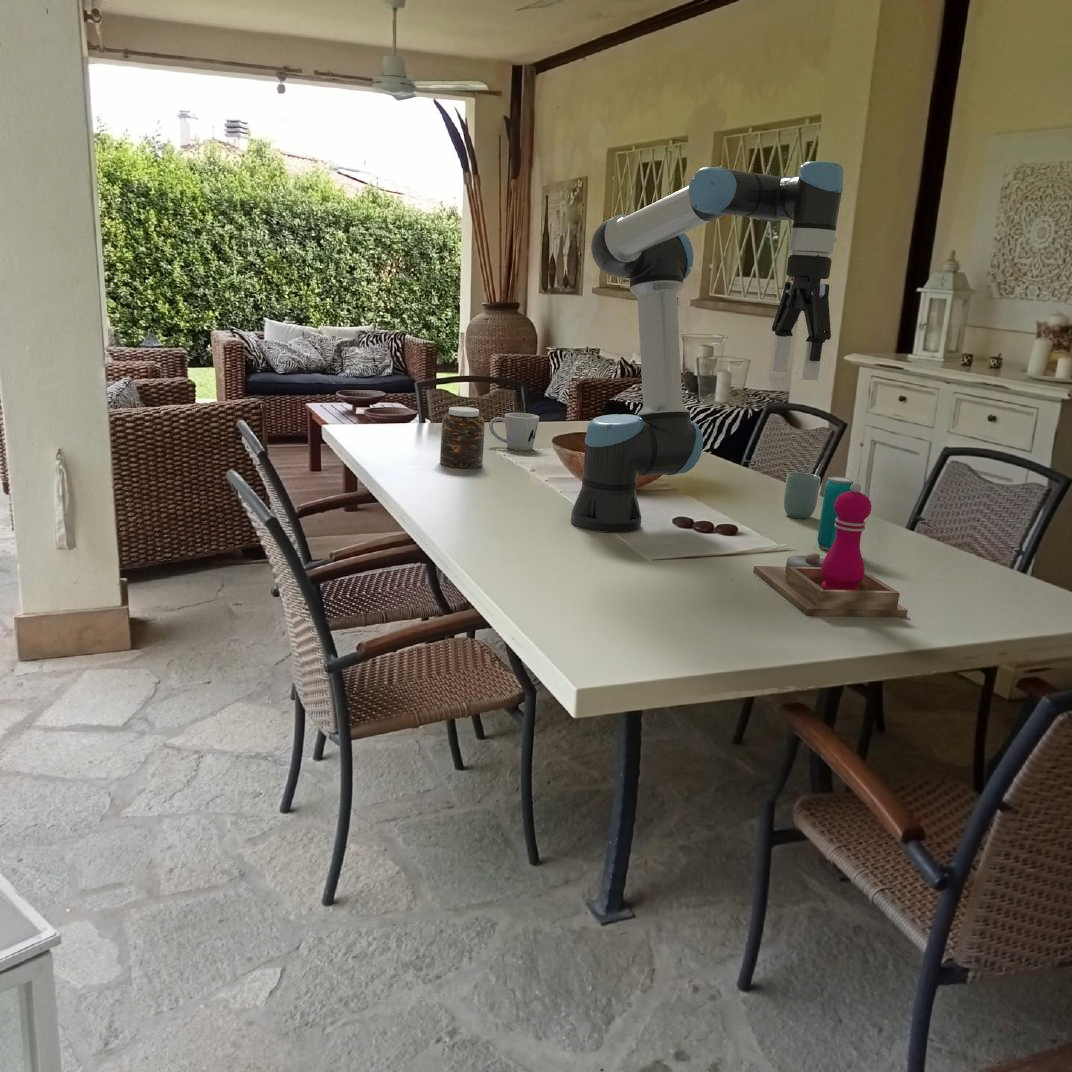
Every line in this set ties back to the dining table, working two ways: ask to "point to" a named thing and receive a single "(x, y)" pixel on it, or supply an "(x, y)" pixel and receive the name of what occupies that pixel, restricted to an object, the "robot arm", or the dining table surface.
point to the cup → (801, 494)
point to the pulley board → (807, 595)
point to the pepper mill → (847, 542)
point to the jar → (462, 438)
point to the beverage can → (831, 510)
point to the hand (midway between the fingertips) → (793, 375)
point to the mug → (518, 430)
